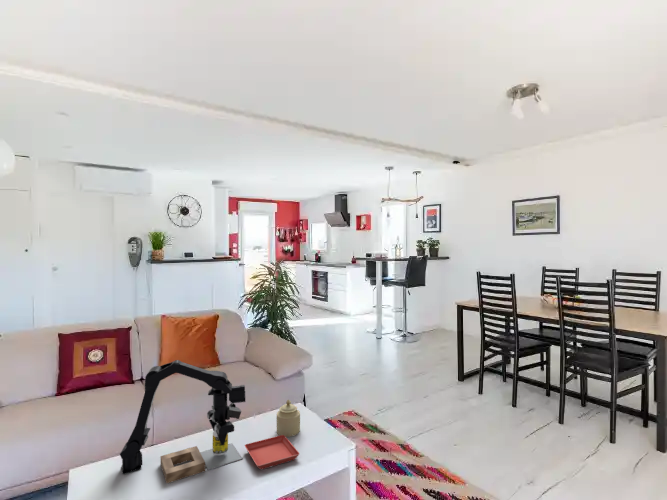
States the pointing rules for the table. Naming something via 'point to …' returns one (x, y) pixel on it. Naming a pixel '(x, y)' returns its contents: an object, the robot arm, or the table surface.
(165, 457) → the holder block
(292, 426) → the sugar bowl
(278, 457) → the plant saucer
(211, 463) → the slate mat
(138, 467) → the robot arm
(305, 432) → the table surface
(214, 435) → the pill bottle
